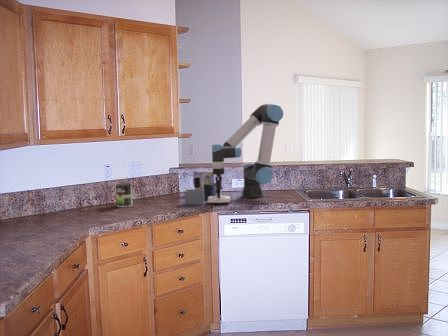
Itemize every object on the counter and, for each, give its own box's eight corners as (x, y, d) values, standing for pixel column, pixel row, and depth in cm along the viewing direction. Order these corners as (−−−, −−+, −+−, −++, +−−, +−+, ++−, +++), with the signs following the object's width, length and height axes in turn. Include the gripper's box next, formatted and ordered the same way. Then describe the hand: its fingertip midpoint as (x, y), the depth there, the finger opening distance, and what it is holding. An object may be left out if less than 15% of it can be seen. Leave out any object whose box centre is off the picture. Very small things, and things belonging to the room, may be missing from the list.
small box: (211, 200, 328) (210, 184, 327) (203, 199, 332) (203, 184, 331) (220, 197, 336) (220, 183, 335) (213, 197, 340) (212, 182, 339)
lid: (230, 198, 320) (230, 194, 319) (229, 201, 308) (229, 197, 307) (209, 199, 320) (209, 195, 320) (207, 202, 308) (207, 198, 308)
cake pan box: (193, 193, 358) (192, 170, 356) (198, 193, 361) (197, 169, 359) (210, 196, 344) (209, 171, 342) (215, 195, 347) (214, 171, 345)
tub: (204, 202, 319) (204, 189, 318) (203, 204, 311) (203, 191, 310) (186, 203, 319) (185, 189, 318) (185, 205, 311) (184, 191, 310)
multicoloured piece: (127, 207, 309) (126, 185, 308) (113, 206, 313) (112, 185, 311) (135, 204, 319) (134, 183, 317) (122, 204, 322) (121, 183, 321)
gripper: (213, 166, 324) (214, 198, 326) (211, 170, 300) (212, 204, 302) (224, 165, 324) (225, 197, 326) (223, 169, 300) (224, 204, 302)
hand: (219, 201), depth 314 cm, fingers closed on lid, 12 cm apart
